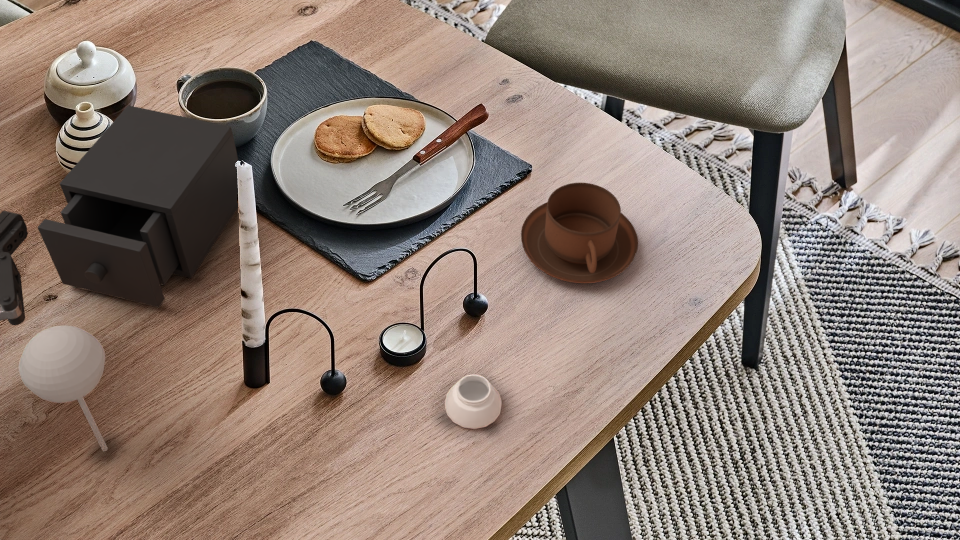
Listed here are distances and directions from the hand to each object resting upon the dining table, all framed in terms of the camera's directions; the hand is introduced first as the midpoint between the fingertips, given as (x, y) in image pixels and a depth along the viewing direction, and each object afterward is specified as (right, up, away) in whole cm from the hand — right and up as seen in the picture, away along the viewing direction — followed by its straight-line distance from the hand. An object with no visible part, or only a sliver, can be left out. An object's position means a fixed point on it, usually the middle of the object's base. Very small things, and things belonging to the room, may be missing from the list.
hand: (16, 219), depth 80 cm
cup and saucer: (+49, -2, +19) cm, 53 cm away
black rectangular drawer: (+5, -3, +15) cm, 16 cm away
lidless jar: (+39, -17, +5) cm, 42 cm away
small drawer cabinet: (+7, +1, +19) cm, 20 cm away
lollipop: (+7, -20, +1) cm, 21 cm away
